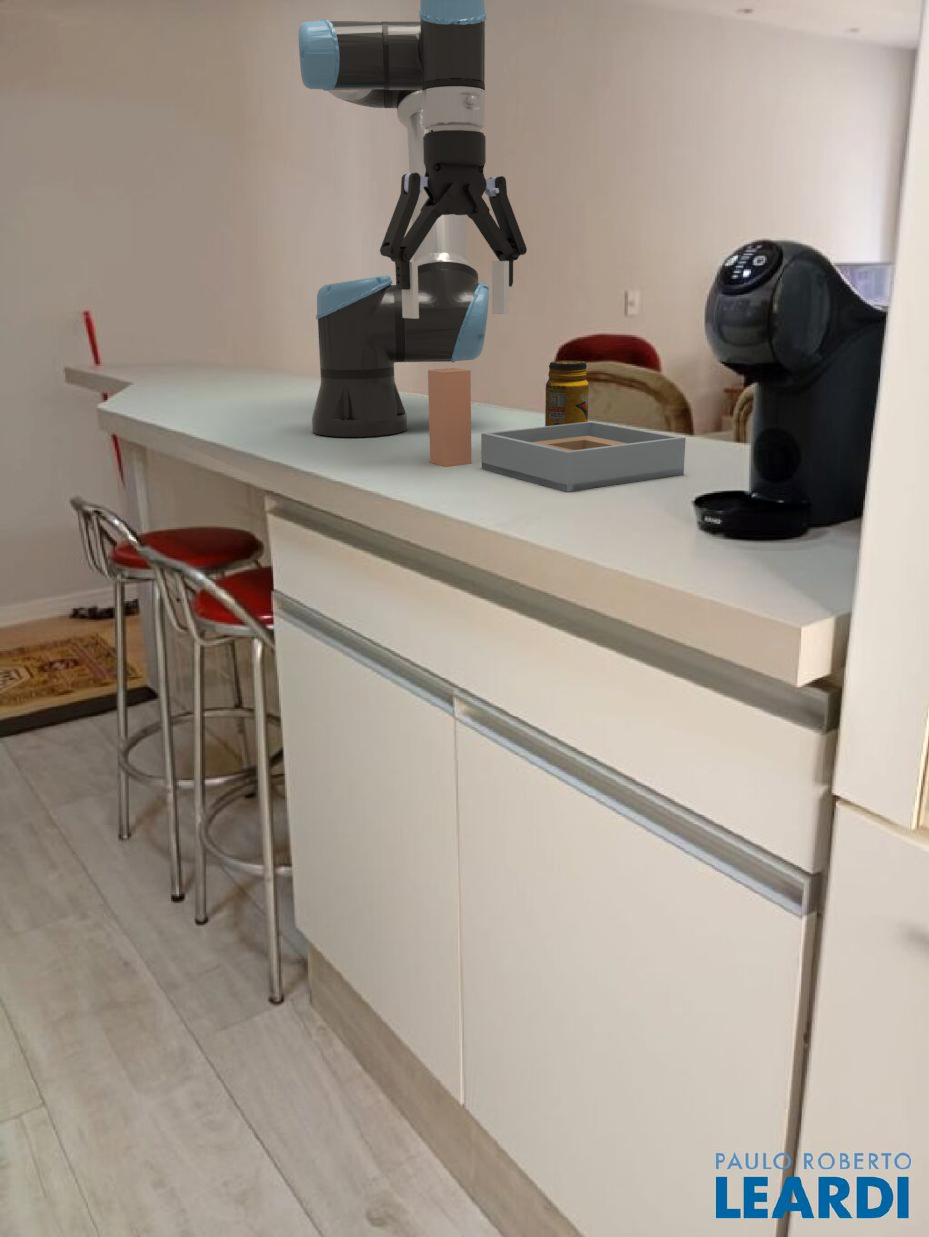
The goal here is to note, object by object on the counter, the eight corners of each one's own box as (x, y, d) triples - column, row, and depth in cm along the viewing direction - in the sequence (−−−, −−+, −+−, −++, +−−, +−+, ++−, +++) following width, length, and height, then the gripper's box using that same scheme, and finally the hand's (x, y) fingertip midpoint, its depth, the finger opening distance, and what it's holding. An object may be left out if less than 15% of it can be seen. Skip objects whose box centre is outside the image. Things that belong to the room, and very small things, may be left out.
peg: (430, 462, 134) (427, 369, 130) (455, 458, 136) (454, 368, 132) (445, 466, 131) (443, 372, 127) (471, 463, 133) (470, 370, 129)
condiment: (599, 448, 143) (602, 361, 139) (552, 454, 139) (554, 365, 135) (567, 441, 149) (569, 358, 145) (521, 447, 145) (521, 361, 141)
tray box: (481, 468, 129) (481, 433, 128) (591, 454, 138) (592, 421, 137) (567, 491, 115) (567, 452, 113) (683, 474, 124) (685, 437, 122)
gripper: (378, 121, 111) (385, 321, 118) (555, 133, 124) (552, 313, 131) (346, 128, 117) (355, 318, 124) (519, 139, 130) (518, 311, 137)
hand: (456, 316), depth 128 cm, fingers open, 13 cm apart
